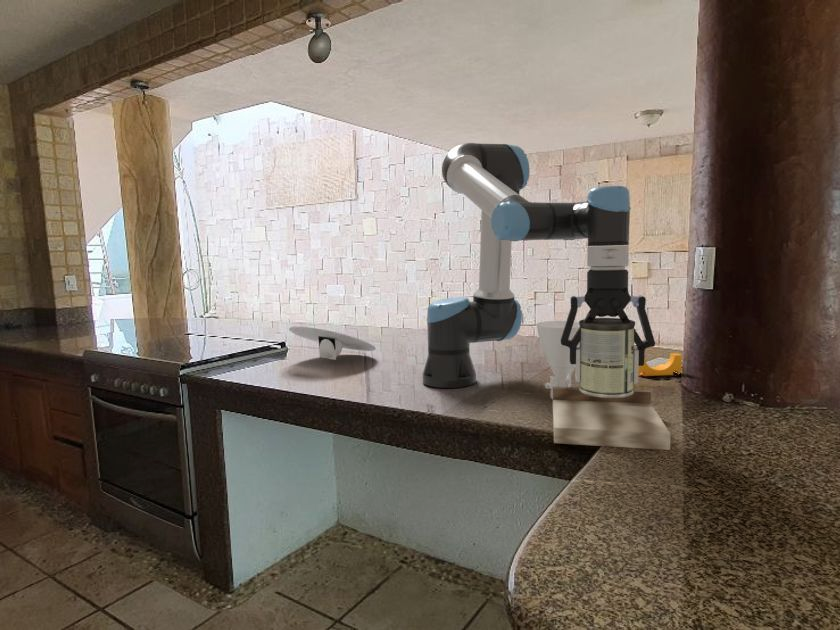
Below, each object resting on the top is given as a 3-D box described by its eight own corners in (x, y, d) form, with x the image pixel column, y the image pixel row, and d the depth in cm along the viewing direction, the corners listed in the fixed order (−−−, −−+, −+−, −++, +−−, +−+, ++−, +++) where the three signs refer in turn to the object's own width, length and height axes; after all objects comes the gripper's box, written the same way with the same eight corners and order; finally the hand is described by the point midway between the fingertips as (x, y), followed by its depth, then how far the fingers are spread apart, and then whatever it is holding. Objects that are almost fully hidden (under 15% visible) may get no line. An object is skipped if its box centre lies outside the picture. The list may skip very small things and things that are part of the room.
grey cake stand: (268, 339, 179) (322, 323, 201) (292, 389, 177) (344, 368, 200) (319, 304, 164) (371, 291, 186) (345, 359, 162) (395, 339, 184)
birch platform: (553, 443, 98) (554, 414, 97) (552, 410, 117) (552, 386, 116) (670, 449, 93) (671, 420, 92) (648, 415, 112) (649, 390, 112)
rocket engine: (527, 394, 131) (527, 323, 128) (566, 389, 134) (567, 319, 132) (554, 406, 120) (554, 329, 118) (595, 400, 124) (597, 325, 121)
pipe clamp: (673, 374, 147) (674, 352, 147) (681, 378, 143) (682, 355, 142) (630, 375, 148) (631, 352, 147) (636, 379, 143) (637, 356, 142)
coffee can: (574, 384, 110) (574, 318, 108) (624, 384, 108) (626, 317, 107) (584, 398, 99) (585, 325, 98) (640, 398, 98) (642, 324, 97)
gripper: (547, 270, 100) (547, 383, 103) (675, 268, 95) (672, 387, 97) (547, 268, 107) (547, 375, 110) (666, 266, 102) (663, 378, 105)
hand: (605, 381), depth 104 cm, fingers closed on coffee can, 10 cm apart
